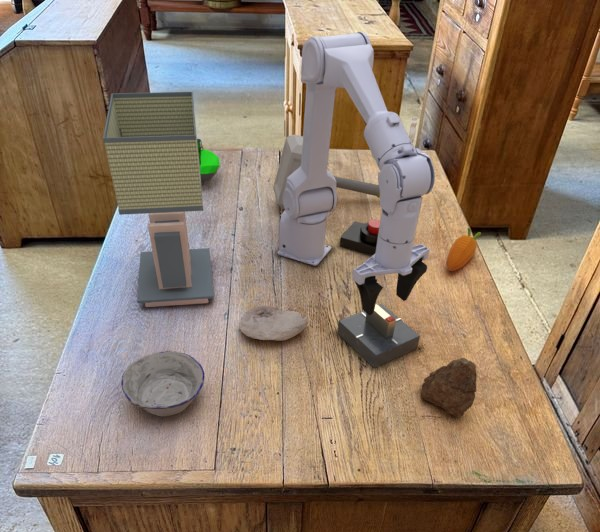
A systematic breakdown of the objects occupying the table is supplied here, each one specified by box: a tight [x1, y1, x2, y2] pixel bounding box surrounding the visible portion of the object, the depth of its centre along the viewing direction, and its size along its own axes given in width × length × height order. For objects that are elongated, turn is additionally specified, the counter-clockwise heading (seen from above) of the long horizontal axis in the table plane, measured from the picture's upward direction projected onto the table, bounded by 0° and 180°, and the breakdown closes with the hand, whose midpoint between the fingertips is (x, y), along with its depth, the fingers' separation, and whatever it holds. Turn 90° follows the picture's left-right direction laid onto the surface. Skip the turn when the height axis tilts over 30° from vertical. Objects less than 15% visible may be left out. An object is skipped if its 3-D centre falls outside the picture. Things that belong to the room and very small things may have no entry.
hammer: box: [272, 134, 380, 210], centre depth 136 cm, size 15×8×30 cm
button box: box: [339, 220, 378, 257], centre depth 126 cm, size 10×8×4 cm
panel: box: [337, 303, 421, 369], centre depth 104 cm, size 11×10×3 cm
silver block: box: [366, 303, 396, 339], centre depth 101 cm, size 6×2×4 cm, turn 33°
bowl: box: [120, 350, 205, 417], centre depth 92 cm, size 13×13×5 cm
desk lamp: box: [102, 91, 215, 308], centre depth 103 cm, size 18×14×33 cm
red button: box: [368, 218, 380, 234], centre depth 124 cm, size 4×4×2 cm
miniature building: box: [197, 138, 221, 185], centre depth 142 cm, size 12×12×11 cm
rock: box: [420, 357, 478, 418], centre depth 91 cm, size 10×6×10 cm
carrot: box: [446, 227, 482, 272], centre depth 122 cm, size 5×5×15 cm
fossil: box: [238, 305, 309, 342], centre depth 104 cm, size 12×4×10 cm
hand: (384, 304), depth 100 cm, fingers open, 7 cm apart
